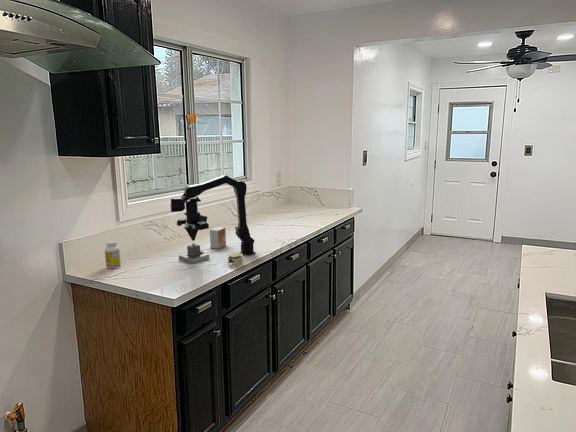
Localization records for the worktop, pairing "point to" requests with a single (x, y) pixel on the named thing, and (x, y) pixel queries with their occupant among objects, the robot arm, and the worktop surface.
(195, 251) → the plug
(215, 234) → the small box
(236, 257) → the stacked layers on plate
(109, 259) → the supplement bottle
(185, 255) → the socket plate
